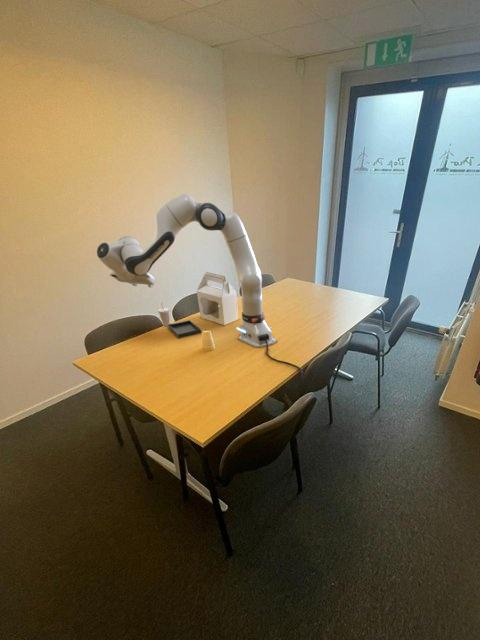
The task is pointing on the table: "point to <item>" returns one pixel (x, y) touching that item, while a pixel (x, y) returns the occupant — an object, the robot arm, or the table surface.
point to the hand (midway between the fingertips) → (143, 285)
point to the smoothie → (164, 315)
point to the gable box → (217, 300)
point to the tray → (184, 329)
